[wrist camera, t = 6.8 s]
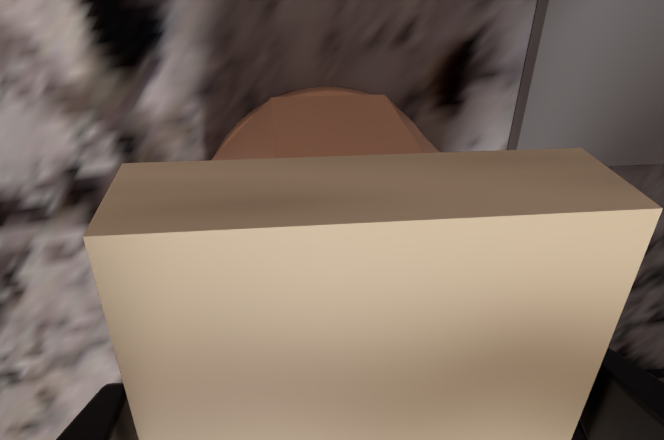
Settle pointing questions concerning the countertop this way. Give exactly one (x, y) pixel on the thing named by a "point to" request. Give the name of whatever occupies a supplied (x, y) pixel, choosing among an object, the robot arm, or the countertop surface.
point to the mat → (594, 81)
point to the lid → (366, 293)
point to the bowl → (323, 127)
